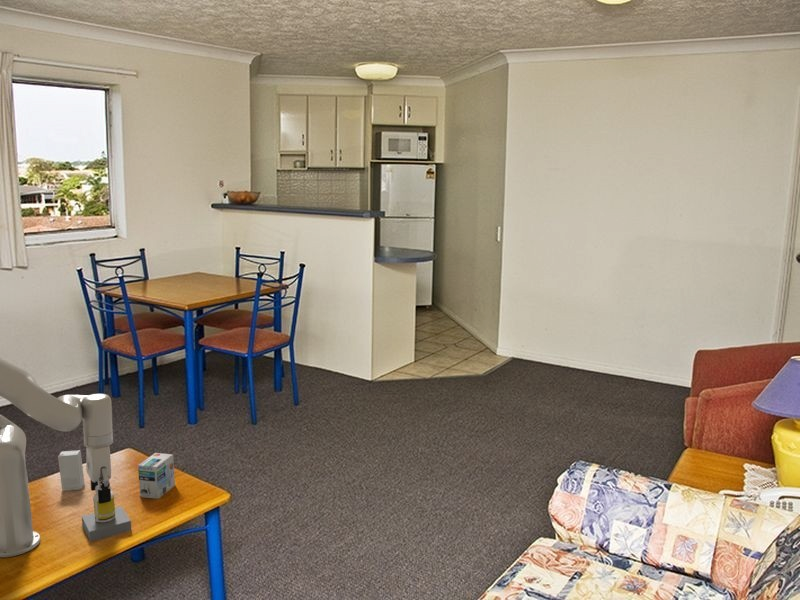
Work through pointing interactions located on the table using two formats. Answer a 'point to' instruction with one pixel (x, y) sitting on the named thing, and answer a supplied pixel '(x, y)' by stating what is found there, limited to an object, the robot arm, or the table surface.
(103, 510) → the supplement bottle
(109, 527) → the slate base block
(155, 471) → the light bulb box
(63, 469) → the skincare box
